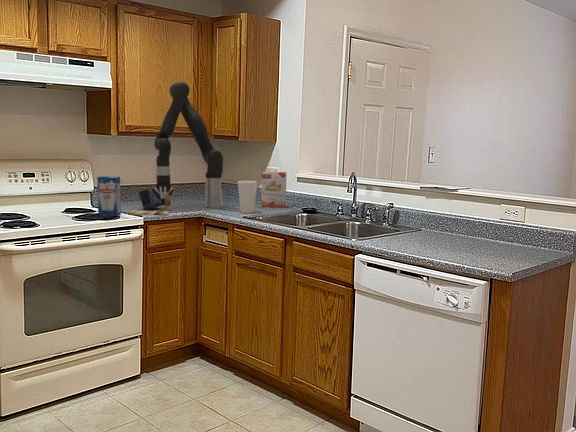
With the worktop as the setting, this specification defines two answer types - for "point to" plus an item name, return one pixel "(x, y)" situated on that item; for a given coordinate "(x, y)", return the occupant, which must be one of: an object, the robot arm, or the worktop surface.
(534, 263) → the worktop surface
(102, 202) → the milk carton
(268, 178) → the cracker box
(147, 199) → the small box
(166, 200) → the awl
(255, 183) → the cup
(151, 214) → the panel
